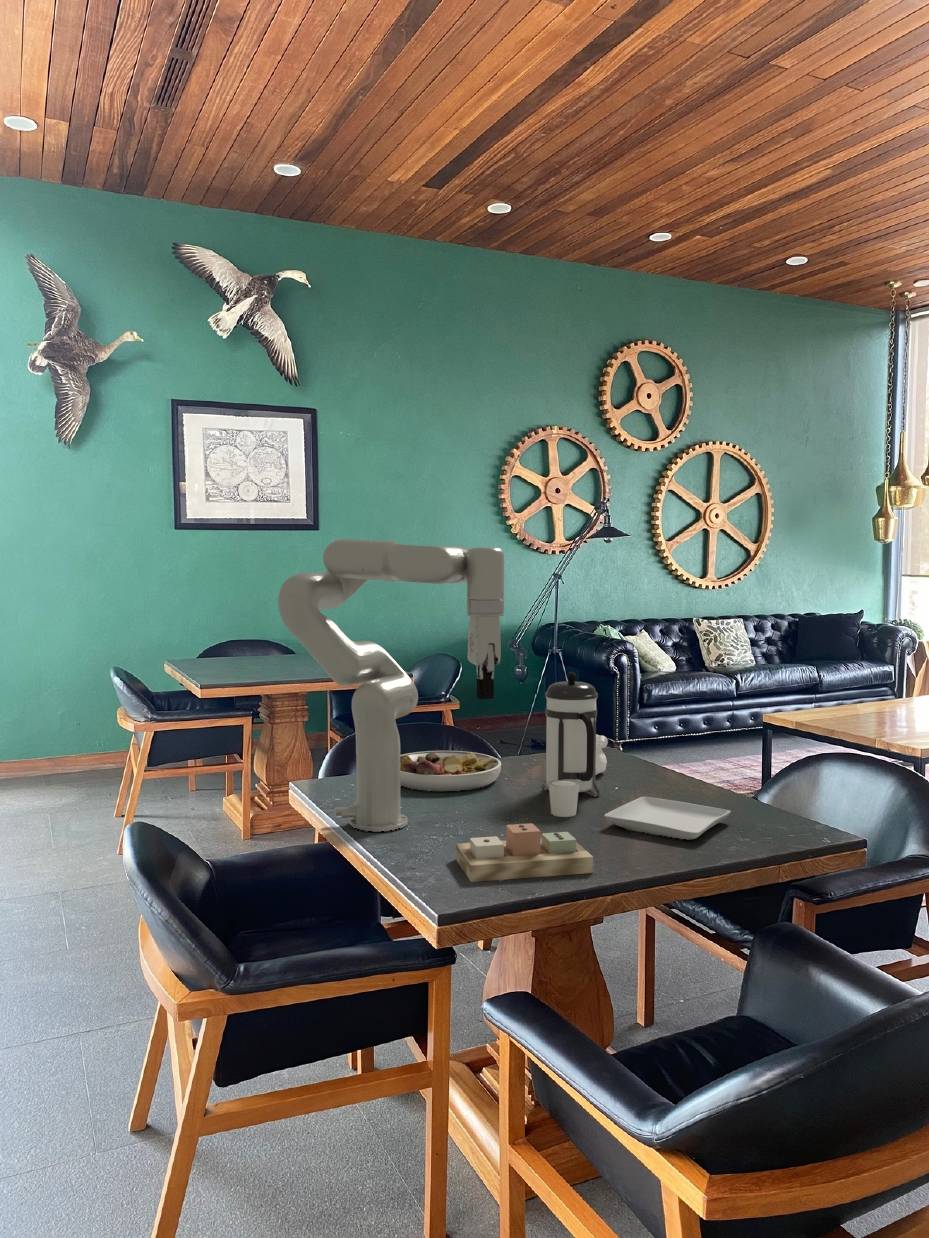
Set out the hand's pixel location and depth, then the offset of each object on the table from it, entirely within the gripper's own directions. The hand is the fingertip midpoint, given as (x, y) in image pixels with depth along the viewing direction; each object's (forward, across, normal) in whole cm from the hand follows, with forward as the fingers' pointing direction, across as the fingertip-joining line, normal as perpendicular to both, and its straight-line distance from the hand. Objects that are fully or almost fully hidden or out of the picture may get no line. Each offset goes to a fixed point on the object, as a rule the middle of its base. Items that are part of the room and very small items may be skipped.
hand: (485, 698), depth 190 cm
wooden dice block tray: (+29, +18, +3) cm, 34 cm away
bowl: (+30, -52, +2) cm, 60 cm away
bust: (+29, -52, +43) cm, 74 cm away
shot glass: (+29, -15, +22) cm, 40 cm away
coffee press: (+29, -31, +30) cm, 52 cm away
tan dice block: (+27, +18, +3) cm, 33 cm away
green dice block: (+29, +18, +10) cm, 36 cm away
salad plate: (+30, -1, +41) cm, 51 cm away
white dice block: (+29, +18, -4) cm, 34 cm away
